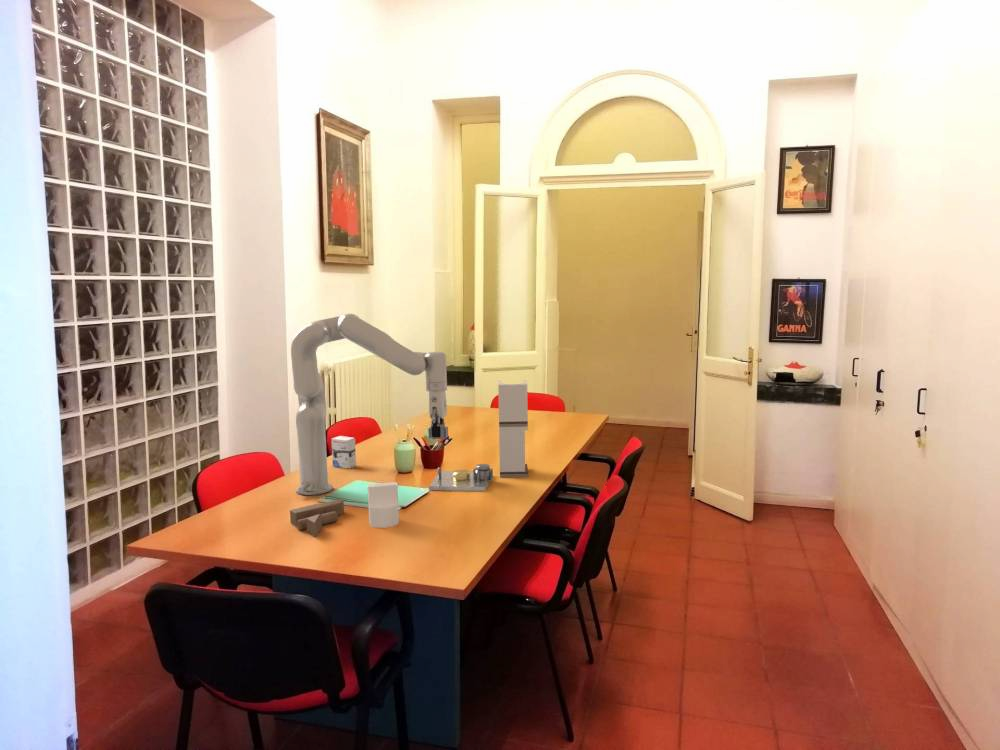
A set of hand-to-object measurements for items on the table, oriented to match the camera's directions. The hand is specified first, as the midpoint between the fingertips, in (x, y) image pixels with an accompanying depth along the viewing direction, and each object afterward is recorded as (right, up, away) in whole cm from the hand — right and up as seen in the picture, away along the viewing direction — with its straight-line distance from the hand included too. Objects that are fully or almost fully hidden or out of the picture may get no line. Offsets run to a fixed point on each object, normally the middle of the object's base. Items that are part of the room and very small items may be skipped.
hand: (438, 434), depth 253 cm
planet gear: (0, -1, 0) cm, 1 cm away
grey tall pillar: (+28, -16, +14) cm, 35 cm away
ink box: (-40, -15, +28) cm, 51 cm away
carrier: (+8, -18, +2) cm, 20 cm away
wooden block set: (-30, -24, -40) cm, 56 cm away
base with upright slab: (-13, -24, -40) cm, 48 cm away
